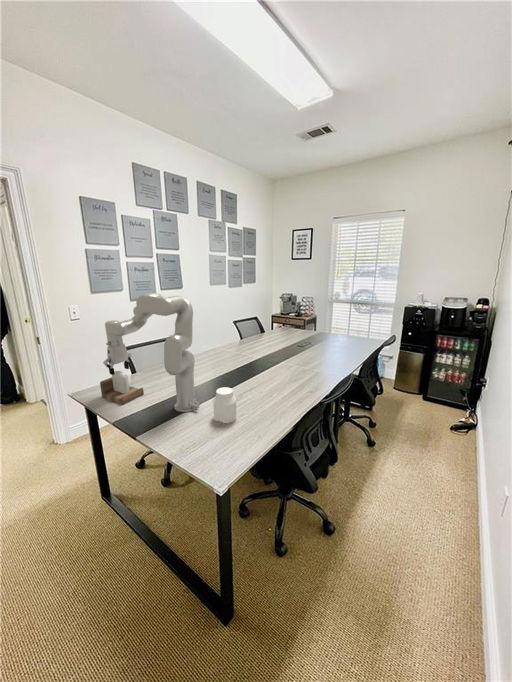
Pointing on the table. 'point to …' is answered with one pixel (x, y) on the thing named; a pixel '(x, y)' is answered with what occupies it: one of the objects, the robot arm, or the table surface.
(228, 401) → the jar
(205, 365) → the table surface
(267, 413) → the table surface
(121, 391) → the photo printer
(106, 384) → the cleat board
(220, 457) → the table surface
